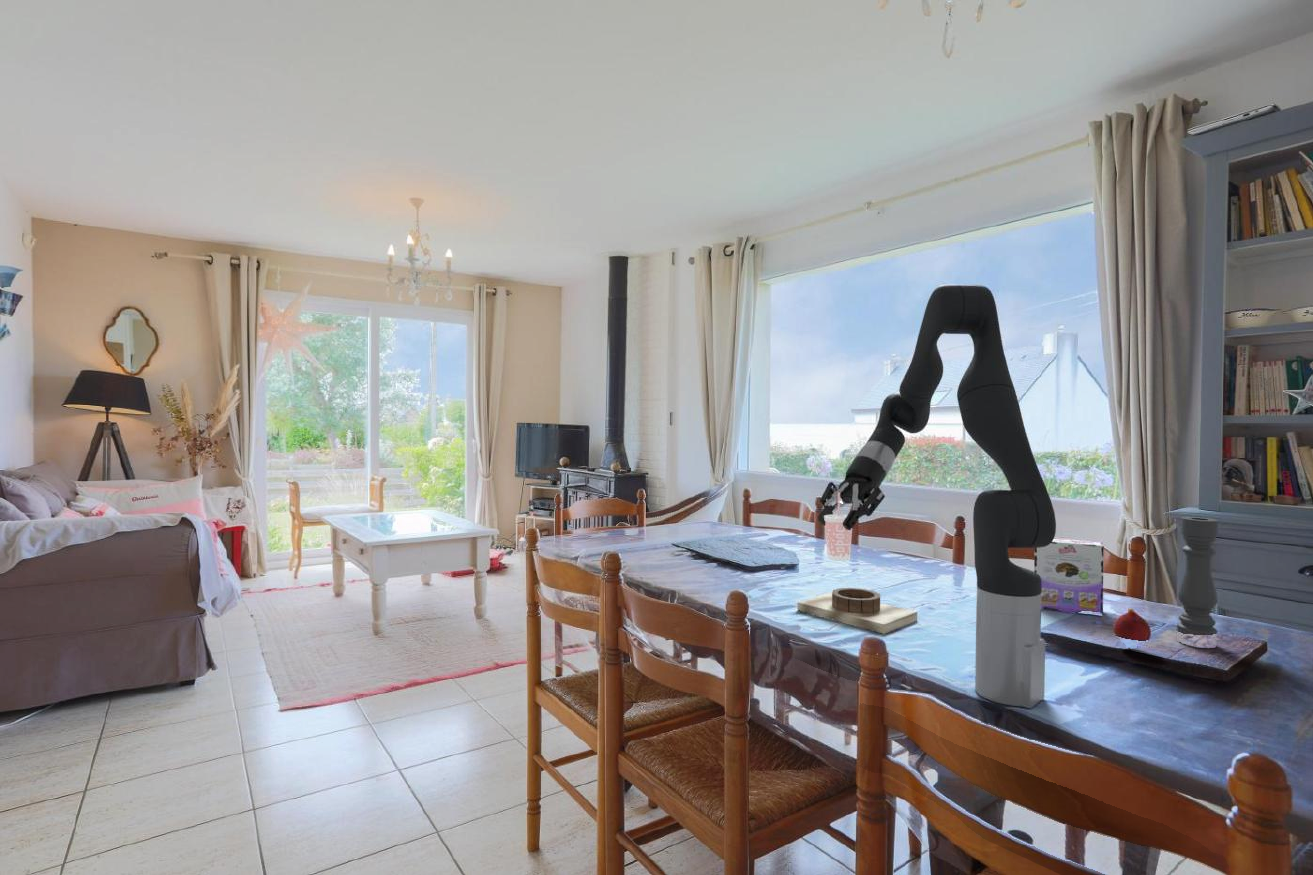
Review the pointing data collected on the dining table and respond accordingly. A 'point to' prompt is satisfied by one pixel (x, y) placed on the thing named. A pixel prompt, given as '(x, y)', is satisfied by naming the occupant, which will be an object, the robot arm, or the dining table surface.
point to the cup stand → (858, 609)
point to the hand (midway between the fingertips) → (833, 525)
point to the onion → (1132, 627)
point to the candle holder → (1198, 576)
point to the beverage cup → (837, 536)
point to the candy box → (1071, 575)
